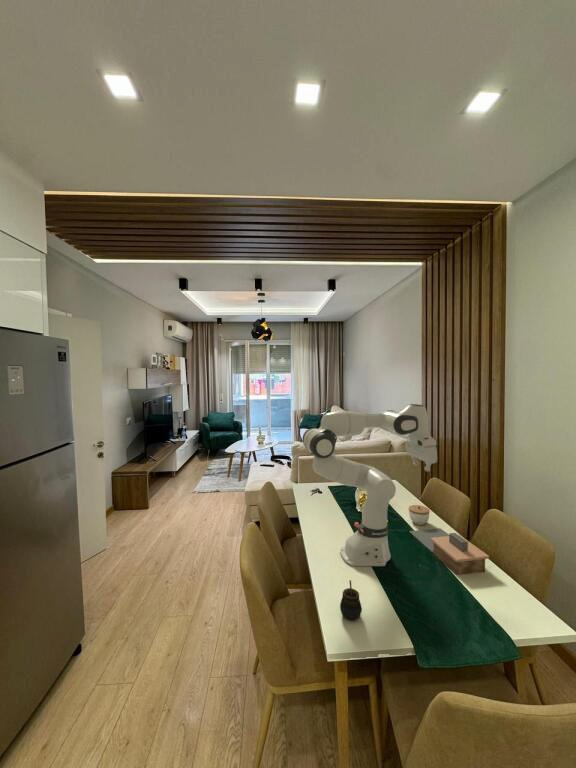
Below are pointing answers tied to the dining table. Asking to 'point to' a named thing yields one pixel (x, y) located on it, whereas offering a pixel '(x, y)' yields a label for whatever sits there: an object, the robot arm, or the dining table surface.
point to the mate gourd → (350, 604)
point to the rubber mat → (428, 536)
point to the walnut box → (459, 563)
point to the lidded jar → (419, 514)
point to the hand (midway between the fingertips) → (421, 467)
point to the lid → (459, 548)
